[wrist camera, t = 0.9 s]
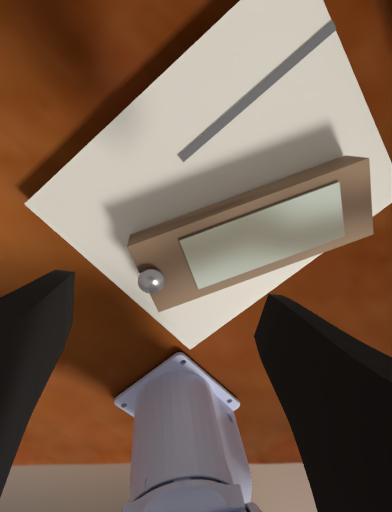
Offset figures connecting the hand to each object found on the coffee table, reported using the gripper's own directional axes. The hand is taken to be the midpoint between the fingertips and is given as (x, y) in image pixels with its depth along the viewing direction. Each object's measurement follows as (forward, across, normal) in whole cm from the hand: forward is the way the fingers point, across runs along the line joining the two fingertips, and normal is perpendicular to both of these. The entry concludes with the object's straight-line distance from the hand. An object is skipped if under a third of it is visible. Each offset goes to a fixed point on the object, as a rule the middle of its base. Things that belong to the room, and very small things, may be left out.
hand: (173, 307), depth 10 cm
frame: (+9, -5, -1) cm, 10 cm away
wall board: (+10, -4, -3) cm, 11 cm away
